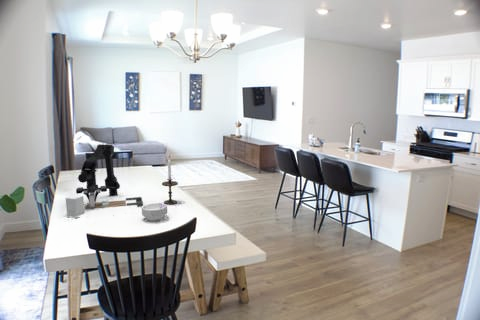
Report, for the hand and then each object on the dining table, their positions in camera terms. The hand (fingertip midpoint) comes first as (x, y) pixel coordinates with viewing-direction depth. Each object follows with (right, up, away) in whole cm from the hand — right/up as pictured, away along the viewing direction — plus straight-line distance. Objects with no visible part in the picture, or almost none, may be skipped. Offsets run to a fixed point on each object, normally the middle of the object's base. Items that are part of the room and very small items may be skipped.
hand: (92, 202), depth 242 cm
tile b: (+8, -3, +1) cm, 9 cm away
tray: (+25, -3, +9) cm, 27 cm away
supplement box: (-3, -7, -17) cm, 19 cm away
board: (+8, -4, +3) cm, 9 cm away
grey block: (0, -3, 0) cm, 2 cm away
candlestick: (+50, -2, +13) cm, 51 cm away
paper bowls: (+46, -8, -20) cm, 51 cm away
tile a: (+7, -2, +5) cm, 9 cm away
